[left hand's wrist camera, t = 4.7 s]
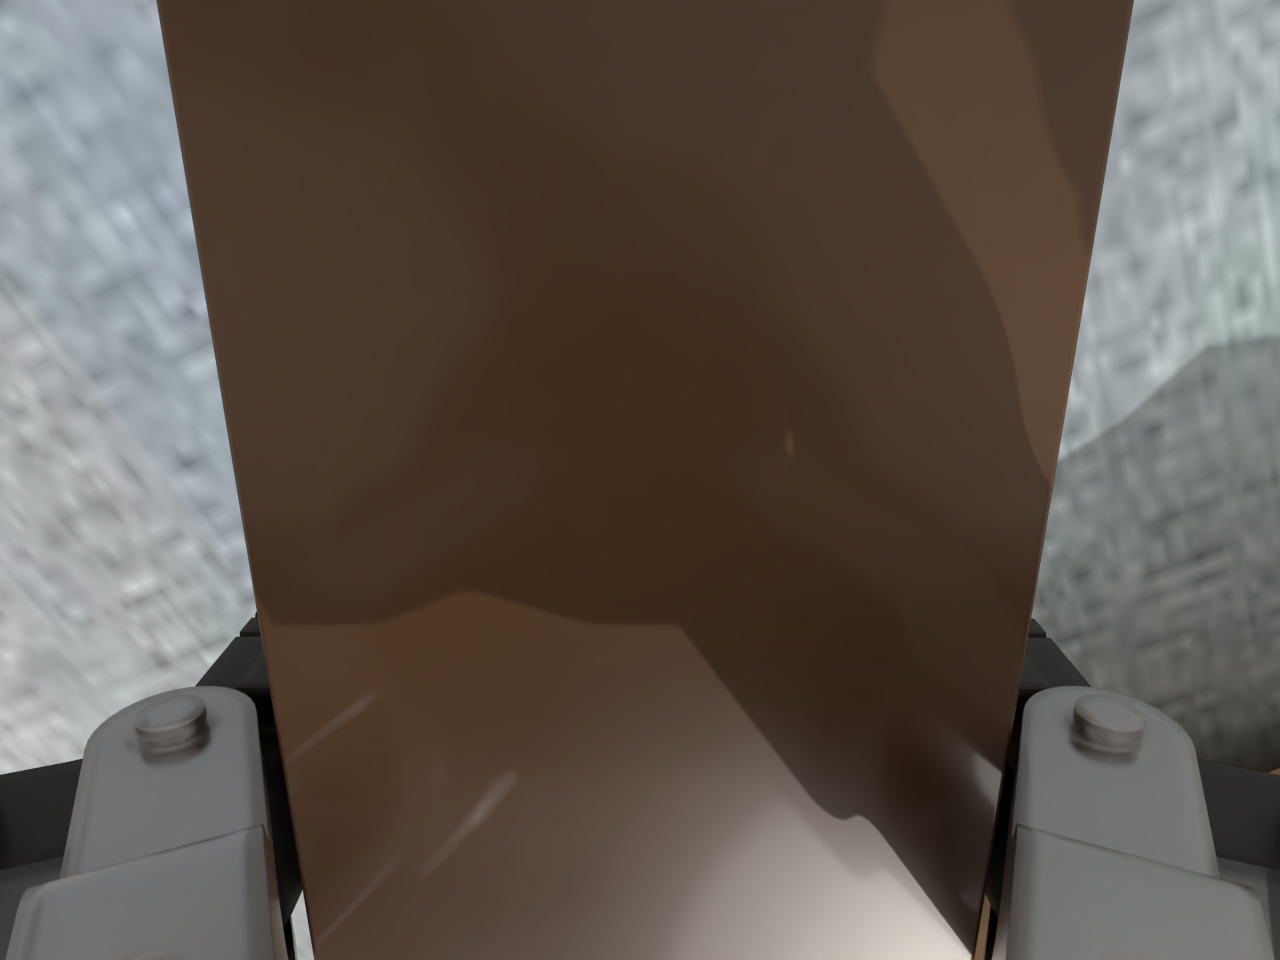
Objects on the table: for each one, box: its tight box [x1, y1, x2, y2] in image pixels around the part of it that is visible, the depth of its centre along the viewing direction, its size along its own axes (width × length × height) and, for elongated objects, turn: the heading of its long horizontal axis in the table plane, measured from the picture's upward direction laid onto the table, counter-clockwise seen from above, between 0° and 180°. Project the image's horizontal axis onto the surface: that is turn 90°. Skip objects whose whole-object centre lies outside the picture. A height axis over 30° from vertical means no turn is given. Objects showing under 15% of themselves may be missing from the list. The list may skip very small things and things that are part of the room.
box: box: [157, 0, 1134, 960], centre depth 11 cm, size 20×6×12 cm, turn 0°
